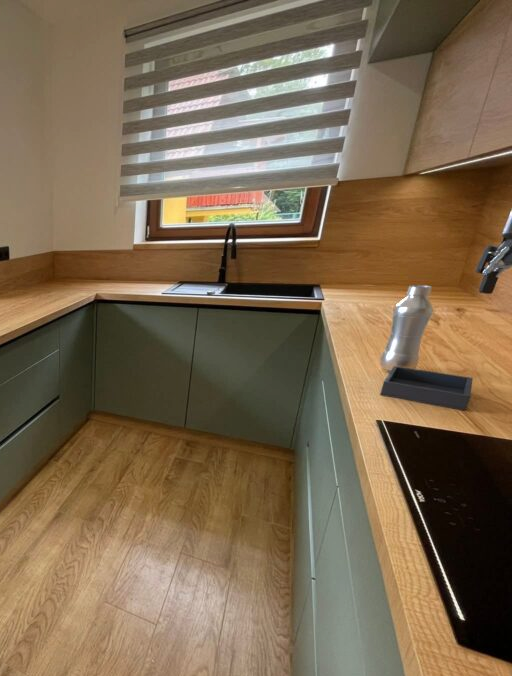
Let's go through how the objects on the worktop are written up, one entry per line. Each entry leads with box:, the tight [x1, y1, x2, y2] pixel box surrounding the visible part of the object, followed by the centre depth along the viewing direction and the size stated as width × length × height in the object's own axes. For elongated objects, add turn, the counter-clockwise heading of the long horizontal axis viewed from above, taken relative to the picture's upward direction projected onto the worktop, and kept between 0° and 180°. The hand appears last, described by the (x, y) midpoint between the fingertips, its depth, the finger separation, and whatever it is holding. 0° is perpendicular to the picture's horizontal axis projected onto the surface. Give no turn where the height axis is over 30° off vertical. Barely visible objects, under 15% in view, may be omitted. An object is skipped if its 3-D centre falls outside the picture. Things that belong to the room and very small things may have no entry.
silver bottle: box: [379, 284, 434, 372], centre depth 98 cm, size 6×7×20 cm
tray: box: [379, 366, 474, 412], centre depth 89 cm, size 13×12×3 cm
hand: (505, 293), depth 91 cm, fingers open, 8 cm apart
